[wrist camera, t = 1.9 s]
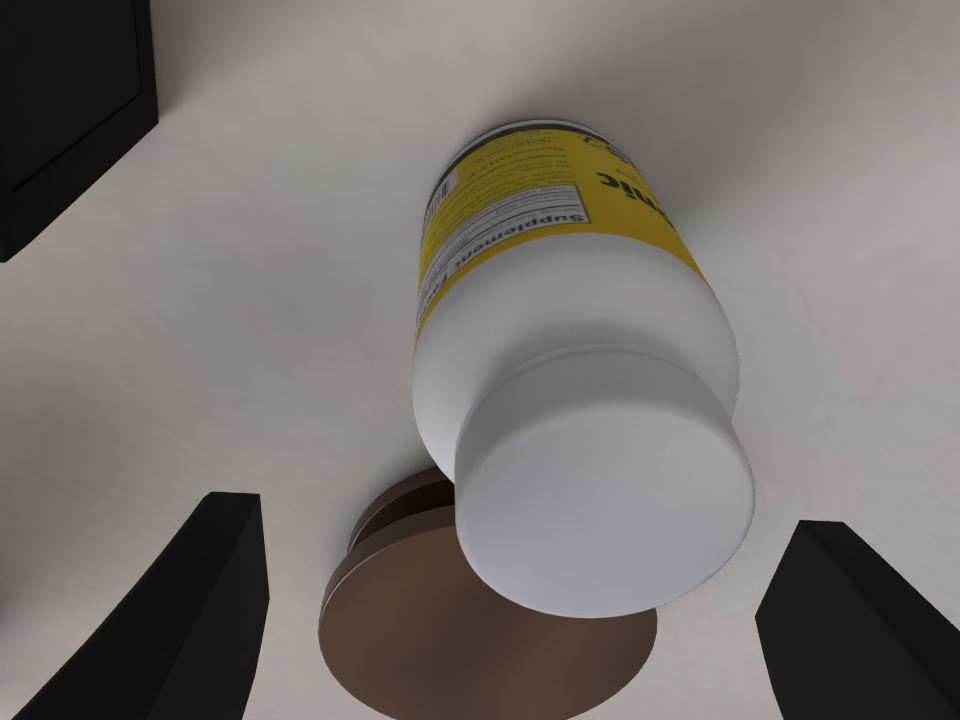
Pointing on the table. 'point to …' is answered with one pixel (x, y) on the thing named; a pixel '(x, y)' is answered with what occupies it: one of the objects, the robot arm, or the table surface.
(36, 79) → the digital camera
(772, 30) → the table surface
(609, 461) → the supplement bottle
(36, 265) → the table surface
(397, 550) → the stand
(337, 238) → the table surface
